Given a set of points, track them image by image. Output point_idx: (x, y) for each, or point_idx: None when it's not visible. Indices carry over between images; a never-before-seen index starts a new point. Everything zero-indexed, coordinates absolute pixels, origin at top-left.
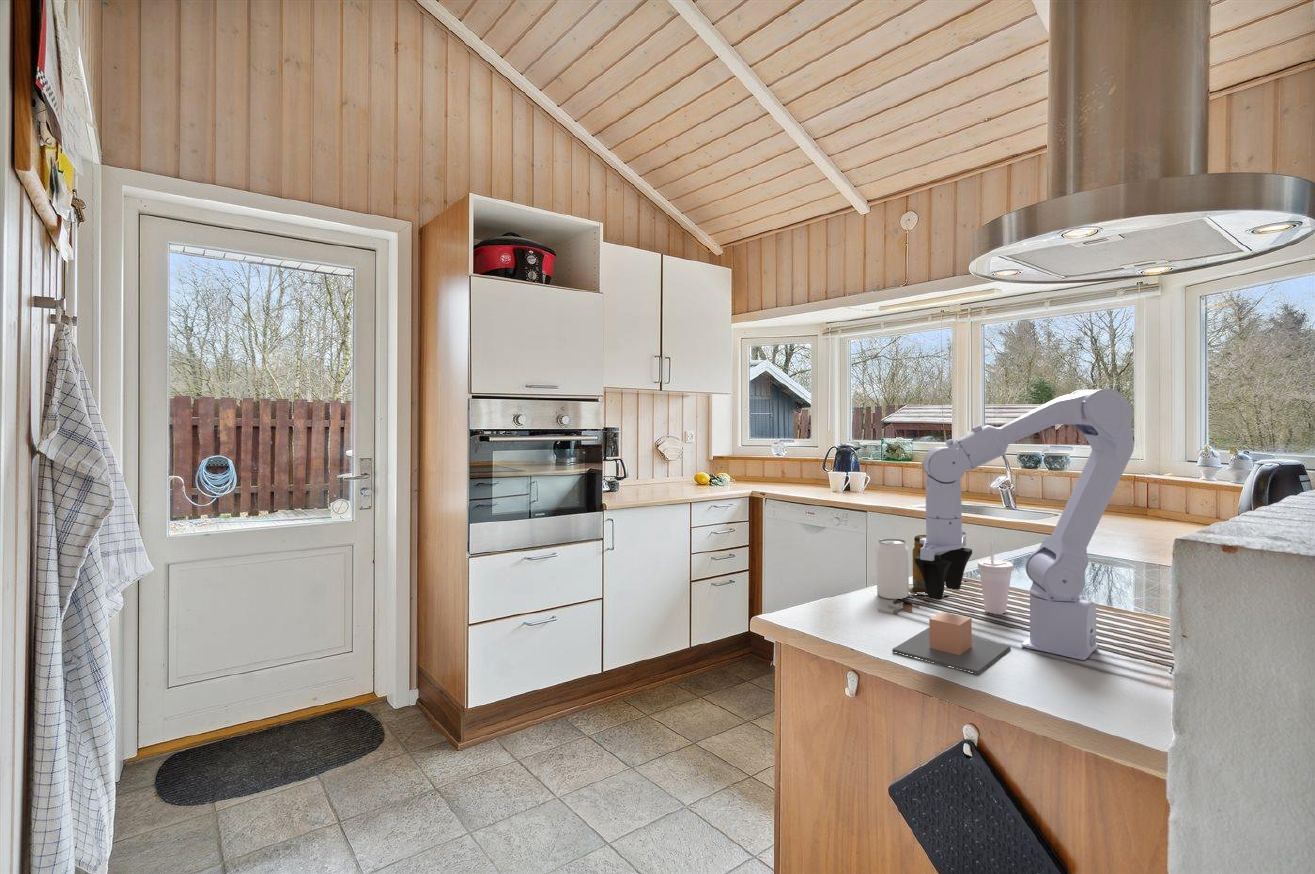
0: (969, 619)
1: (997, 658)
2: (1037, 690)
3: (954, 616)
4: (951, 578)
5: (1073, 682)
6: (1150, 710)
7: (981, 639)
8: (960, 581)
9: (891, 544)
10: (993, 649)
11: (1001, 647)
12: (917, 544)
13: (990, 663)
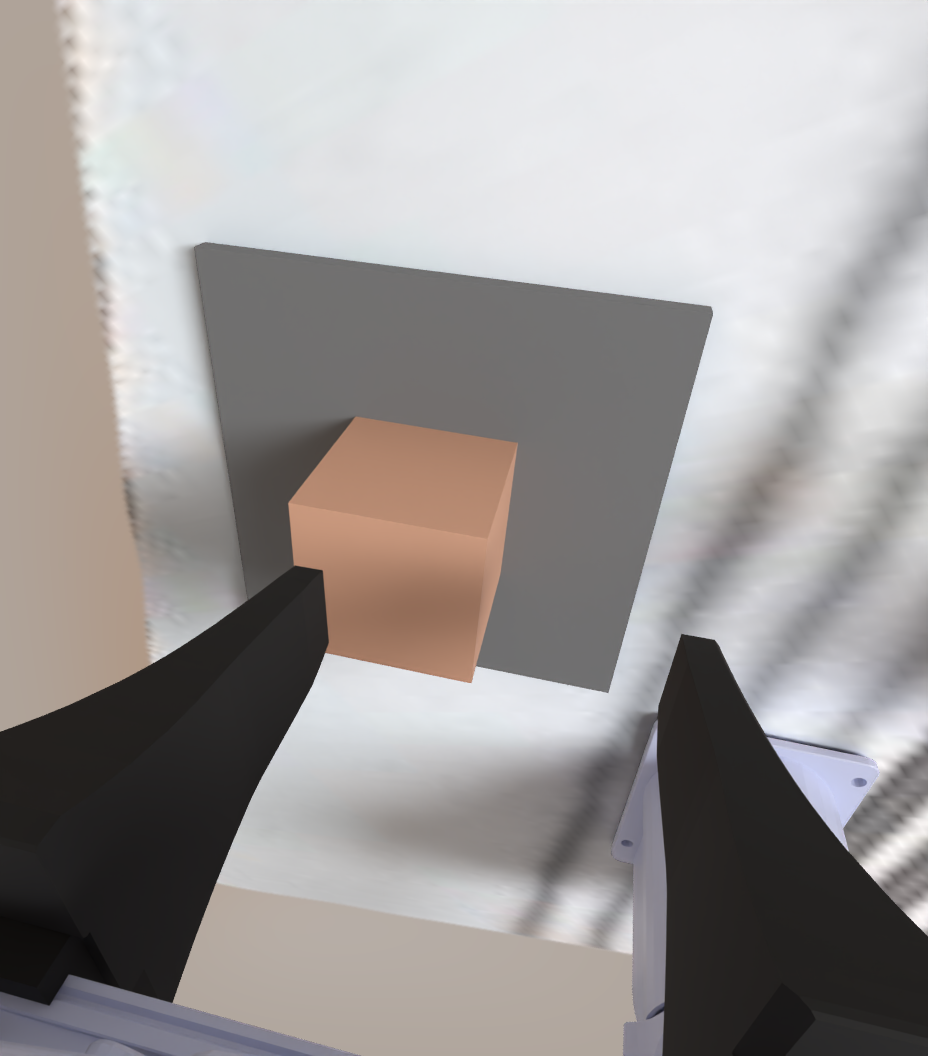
0: (442, 674)
1: None
2: None
3: (435, 611)
4: (681, 743)
5: (407, 809)
6: (350, 897)
7: (634, 596)
8: (660, 784)
9: None
10: (519, 646)
11: (567, 668)
12: None
13: None
